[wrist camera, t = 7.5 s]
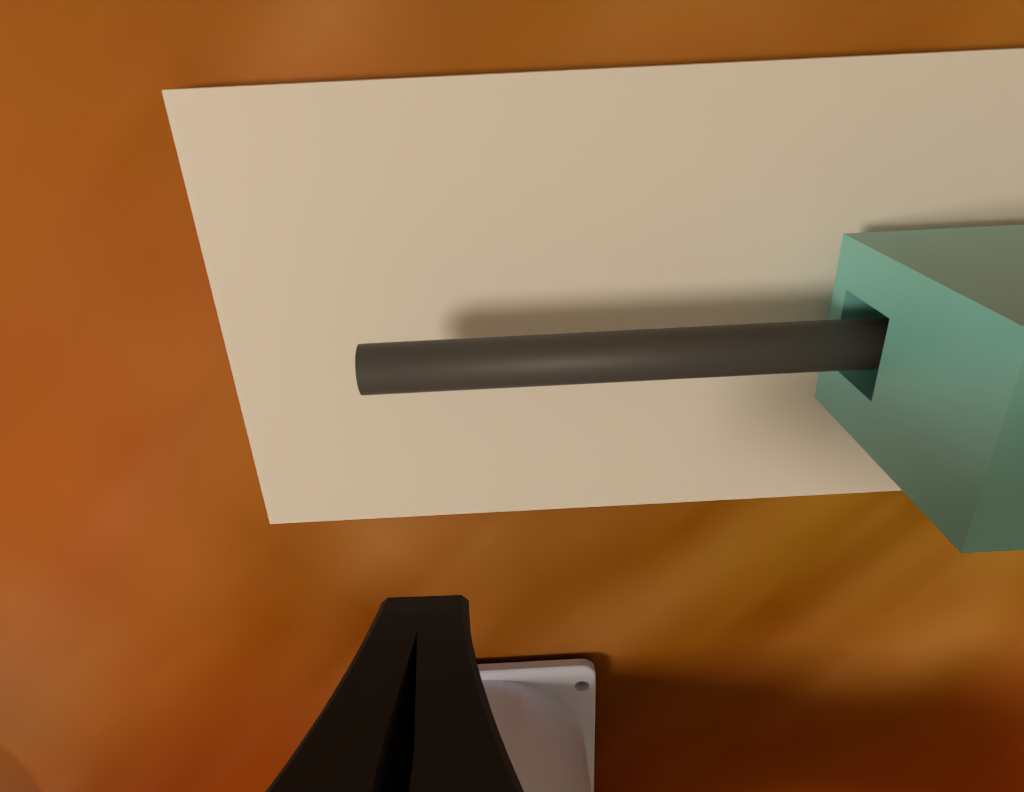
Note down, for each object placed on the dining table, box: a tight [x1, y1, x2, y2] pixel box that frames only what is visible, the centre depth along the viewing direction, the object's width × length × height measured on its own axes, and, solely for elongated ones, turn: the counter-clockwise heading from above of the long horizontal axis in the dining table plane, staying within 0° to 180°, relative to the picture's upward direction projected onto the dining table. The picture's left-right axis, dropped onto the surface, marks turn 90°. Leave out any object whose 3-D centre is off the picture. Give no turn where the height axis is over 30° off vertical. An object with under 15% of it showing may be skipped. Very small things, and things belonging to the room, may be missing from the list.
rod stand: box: [162, 47, 1024, 524], centre depth 16 cm, size 12×28×7 cm, turn 92°
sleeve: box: [815, 225, 1024, 553], centre depth 15 cm, size 4×5×6 cm
